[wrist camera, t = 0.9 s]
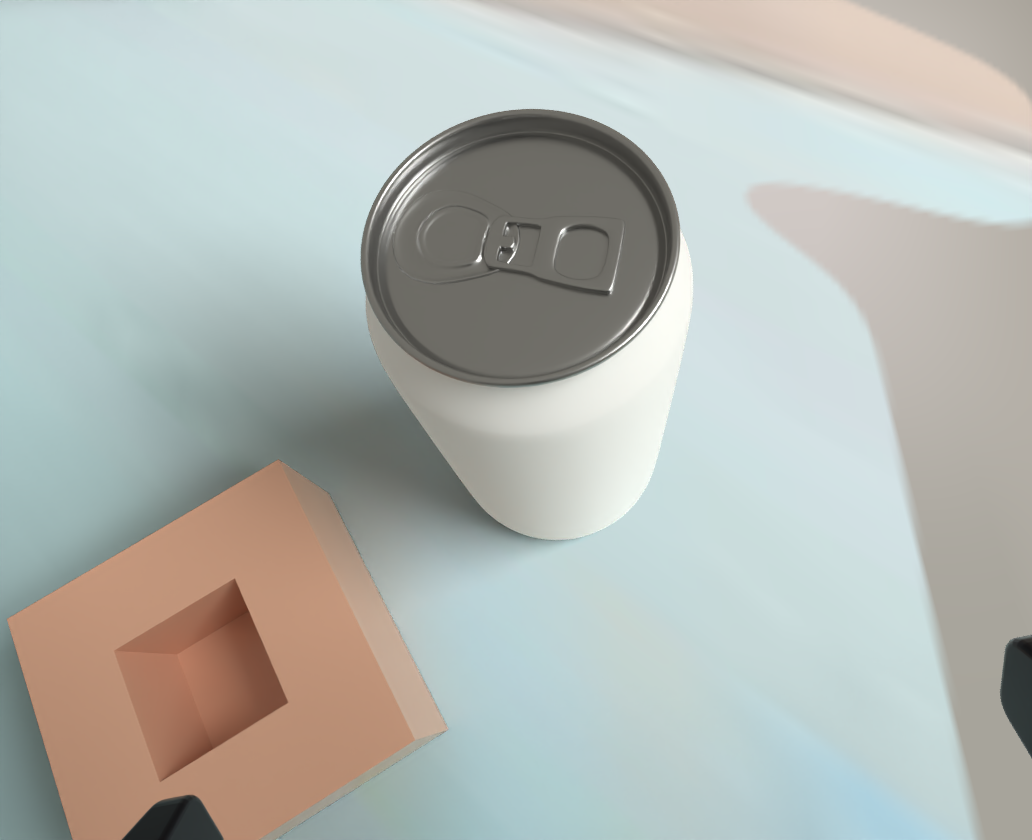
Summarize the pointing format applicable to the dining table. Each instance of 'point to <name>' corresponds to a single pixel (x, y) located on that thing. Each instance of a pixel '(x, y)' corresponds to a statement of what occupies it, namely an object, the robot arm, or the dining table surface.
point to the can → (533, 312)
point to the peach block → (223, 669)
